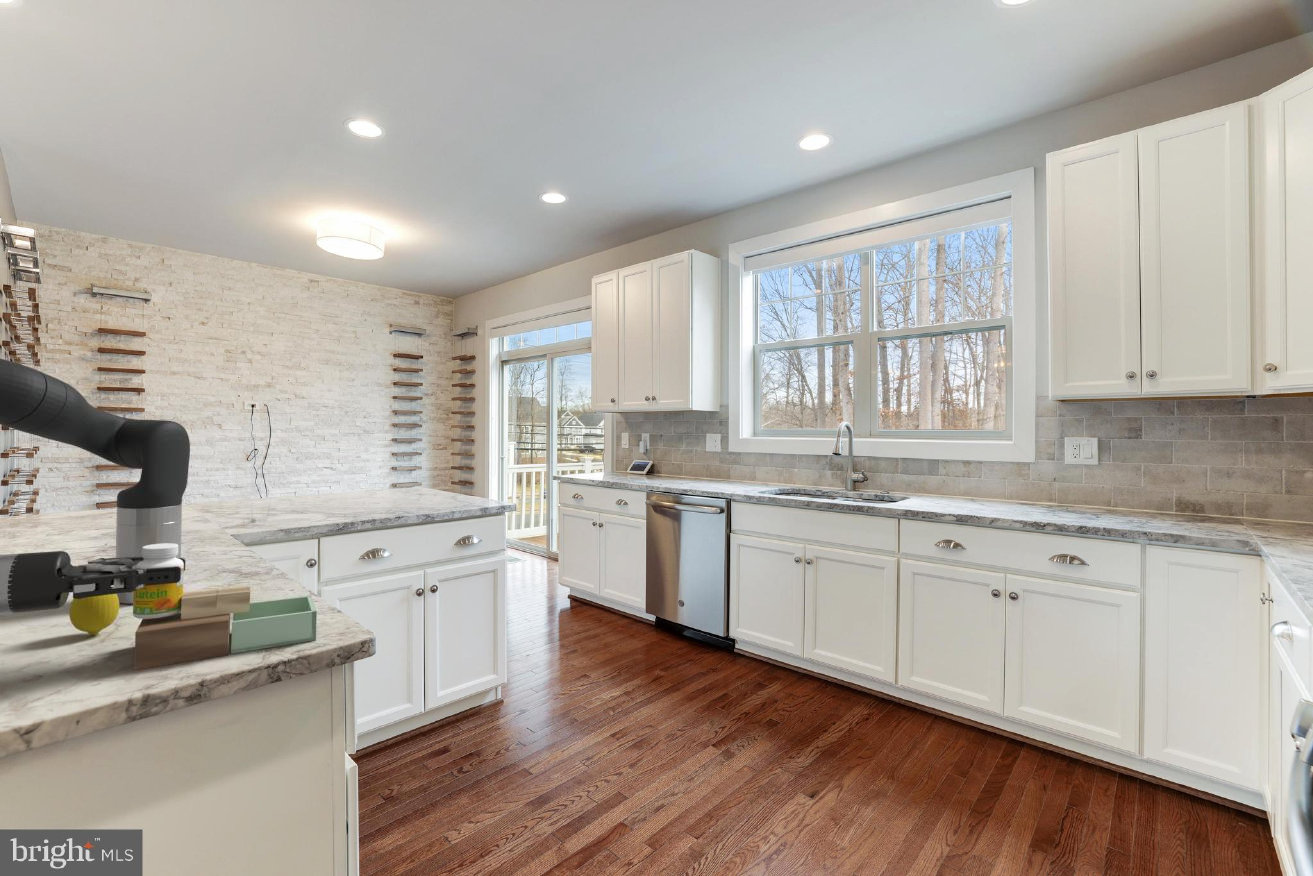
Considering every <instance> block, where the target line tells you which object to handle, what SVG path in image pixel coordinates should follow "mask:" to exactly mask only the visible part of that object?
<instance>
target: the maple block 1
mask: <svg viewBox="0 0 1313 876" xmlns="http://www.w3.org/2000/svg"><path fill="white" fill-rule="evenodd" d="M217 592H218V588H210V589H201V590H199V589H198V590H190V591H189V590H188V591H183V596H182V601H181V620H183V619H191V618H199V617H207V616H215V615H216V608H217Z"/></svg>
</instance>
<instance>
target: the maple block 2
mask: <svg viewBox="0 0 1313 876" xmlns="http://www.w3.org/2000/svg"><path fill="white" fill-rule="evenodd" d="M217 589H218V592H217V608H216V615H222V614H230V615H231V614H233V613H240V612H249V610H250V603H251V585H239V586H230V587H229V586H227V587H219V588H217Z"/></svg>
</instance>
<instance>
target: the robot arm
mask: <svg viewBox="0 0 1313 876" xmlns="http://www.w3.org/2000/svg"><path fill="white" fill-rule="evenodd" d="M0 425H1V426H5V427H7V428H10V429H13V430H17V431H19V432H23V433H25V434H29V435H34V436H37V437H41V438H43V439H47V440H51V441H53V442H54V441H55V442H58V443H63V444H68V445H71V446H73V447H76V448H79V449H82V450H84V451H87V452H88V453H91V454H94V455H95V456H98V457H100V458H102V459H104V460H106V461H108V462H110V463H113V464H115V465H118V466H120V467H123V468H128V469H136V470H137V469H140V470H141V472H140V473H141V474H140V478H139V480H138V482H136V484H134V485H132V486H130V487H127V488H125V489H122V490H120V491H118V493H117V496H116V527H115V528H116V530H115V531H116V534H115V535H116V536H115V557H107V558H106V557H99V558H97V559H91V560H88V561H87V563H85V564H79V565H72V563H71V560H72V559H71V557H70V555H69V553H68V552H66V551H64V550H59V551H58V550H56V551H42V552H41V551H40V552H25V553H22V552H21V553H9V554H8V553H7V554H5V553H4V554H0V615H8V614H19V613H27V612H28V613H29V612H38V611H39V612H40V611H46V610H48V611H49V610H57V609H61V608H62V607H64V606H65V605H66V603H67V600H68V598H69V596H70V595H69V594H70V593H72V599H82V598H86V597H94V596H102V595H110V594H117V596H118V599H119V604H127V605H128V604H131V605H132V604H133V597H134V591H136V589H140V588H142V587H144V584H146V585H145V586H148V585H159V584H170V583H177V582H179V581H180V579H181V568H180V567H179V566H174V567H161V568H148V569H146V572H145V569H142V568H137V569H135V566H136V565H137V564H138V563H139V562H142V561H143V560H144V558H142V555H141V554H142V547H143V546H147V545H152V544H162V543H173V544H178V555H176V558H178V559H180V560H182V561H183V563H184V572H185V571H186V559H185V558H183V557H182V516H183V515H182V512H183V510H182V509H183V508H182V507H183V506H182V505H183V504H182V503H183V496H184V495H185V492H186V489H187V486H188V481H189V480H188V479H189V466H190V455H191V454H190V453H191V441H190V438H189V434H188V431H187V430H186V428H185V427H184V426H183V425H182V424H180V423H179V422H176V421H173V420H162V419H136V418H127V417H125V416H123V417H122V416H120V415H116V414H113V413H111V412H107V411H104V410H102V409H99V408H97V407H94V406H93V405H91V404H90V403H89V402H88V401H87V400H86V398H85V397H84V395H82V394H81V392H79V390H78V389H76V388H75V387H73V386H72V385H70V384H69V383H67V382H65V381H64V380H61V379H58V377H57V378H56V377H54V376H52V375H49V374H47V373H45V372H42V371H40V370H38V369H35V368H33V367H29V366H28V365H24V364H21V363H18V362H15V361H11V360H8V359H3V358H0Z"/></svg>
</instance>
